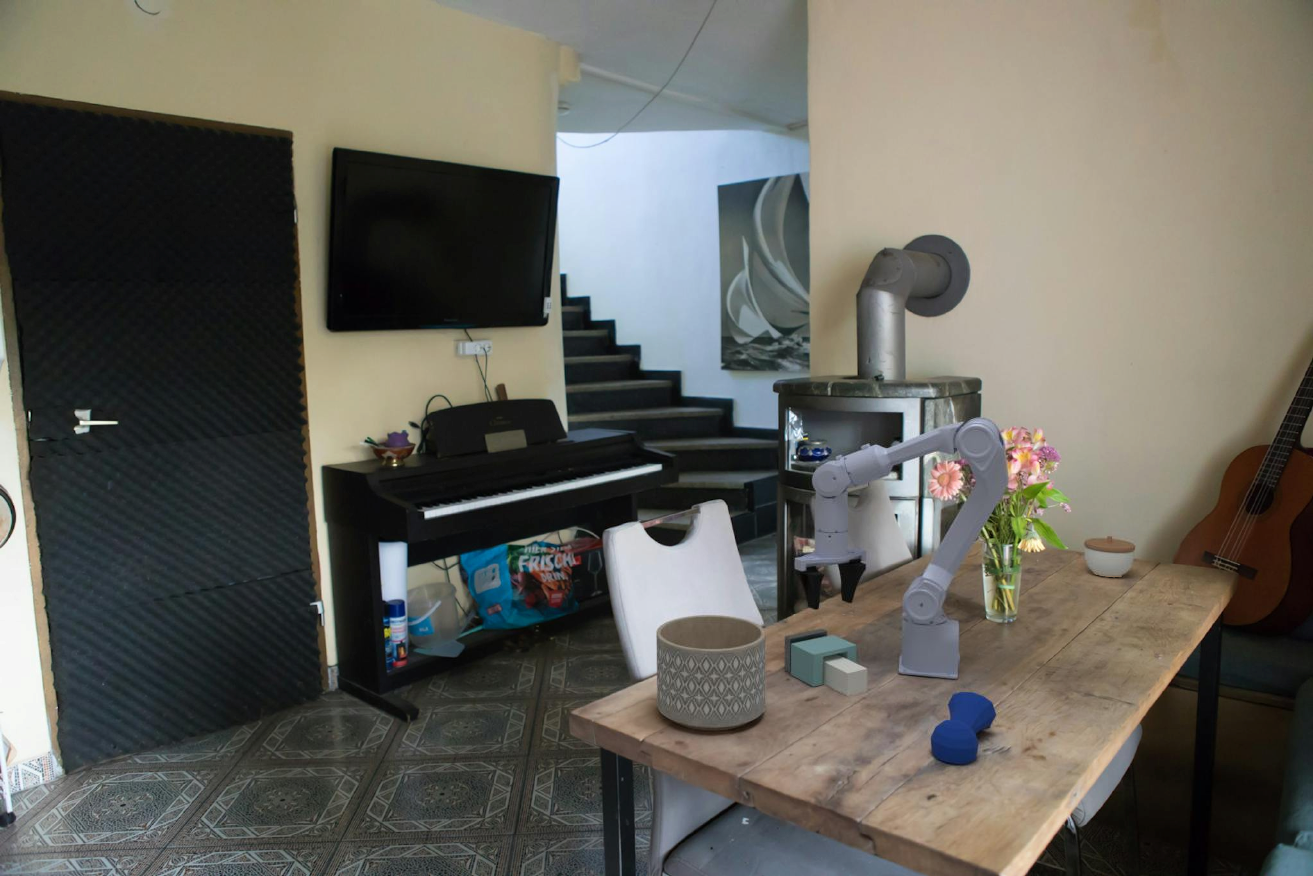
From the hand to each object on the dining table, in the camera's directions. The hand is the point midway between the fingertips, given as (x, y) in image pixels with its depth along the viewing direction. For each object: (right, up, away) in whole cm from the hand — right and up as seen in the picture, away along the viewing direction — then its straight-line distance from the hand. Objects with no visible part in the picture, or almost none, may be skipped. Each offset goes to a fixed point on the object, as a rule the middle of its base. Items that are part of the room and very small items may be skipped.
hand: (830, 604), depth 158 cm
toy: (+12, -14, -33) cm, 38 cm away
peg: (-1, -11, -11) cm, 16 cm away
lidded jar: (+76, -3, +53) cm, 93 cm away
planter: (-23, -12, -22) cm, 34 cm away
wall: (-5, -10, -4) cm, 12 cm away
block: (-3, -10, -8) cm, 14 cm away
